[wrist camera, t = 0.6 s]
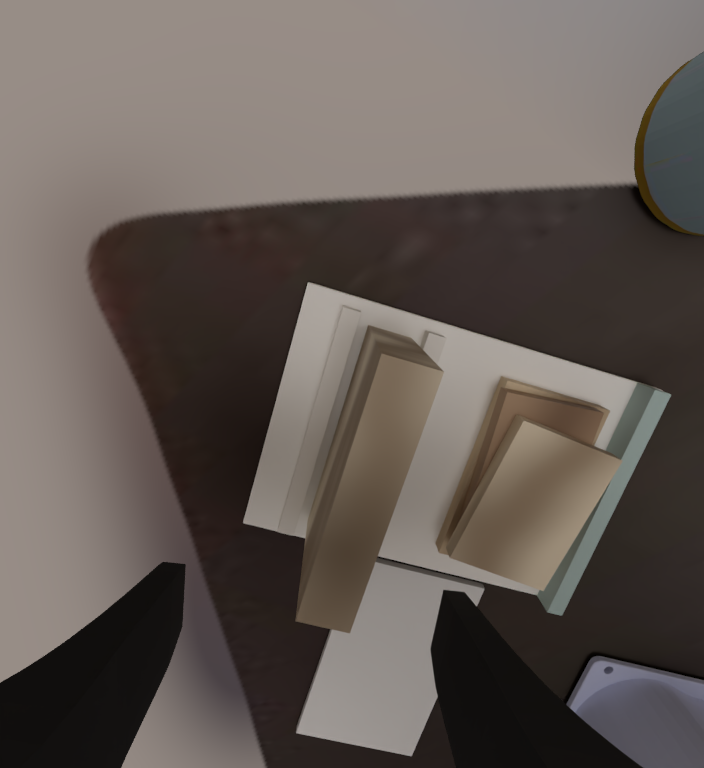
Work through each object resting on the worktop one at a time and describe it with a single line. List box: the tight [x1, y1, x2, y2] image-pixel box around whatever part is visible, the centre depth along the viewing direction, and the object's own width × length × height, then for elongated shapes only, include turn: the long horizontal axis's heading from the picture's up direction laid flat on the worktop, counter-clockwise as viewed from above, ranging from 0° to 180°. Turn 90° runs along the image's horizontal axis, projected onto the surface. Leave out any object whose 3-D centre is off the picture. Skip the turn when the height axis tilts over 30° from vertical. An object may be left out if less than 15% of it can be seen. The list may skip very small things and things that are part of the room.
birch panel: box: [296, 325, 444, 633], centre depth 18 cm, size 2×10×6 cm, turn 163°
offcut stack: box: [436, 376, 622, 591], centre depth 21 cm, size 6×9×2 cm, turn 163°
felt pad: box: [296, 558, 485, 756], centre depth 25 cm, size 7×12×1 cm, turn 163°
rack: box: [243, 282, 671, 616], centre depth 21 cm, size 17×12×2 cm
